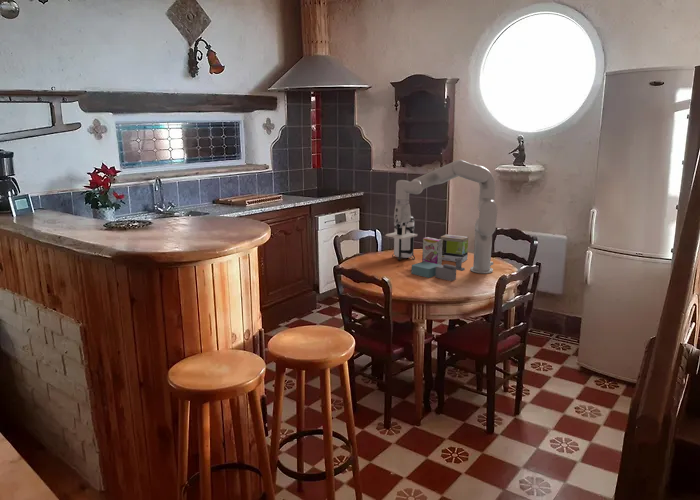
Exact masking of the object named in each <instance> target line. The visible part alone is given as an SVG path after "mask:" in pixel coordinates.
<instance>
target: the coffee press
mask: <svg viewBox="0 0 700 500" xmlns="http://www.w3.org/2000/svg"><path fill="white" fill-rule="evenodd" d="M415 221H416V219H415V218H414V216H413V215H412V214H411V220H410V221H409V223H408V224H407V227H406V232H408V233H413V234H415ZM399 225H400V224H399ZM393 227H394V228H393V229H394V232H397V227H396V225H395V224H393ZM394 232H393V233H394ZM393 242H394V243H393V246H394V247H393V254H392V255H391V256H392V258H395V257H396V258H397V261H398V262H399V261H402V259H407V258H409V259H412V260H415V259H416V257H415V255H414V249H415V248H414V247H415V246H414V244H415V243H414V242H415V237H411V238H407V239H398V238H393Z"/></svg>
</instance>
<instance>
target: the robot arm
mask: <svg viewBox="0 0 700 500" xmlns="http://www.w3.org/2000/svg"><path fill="white" fill-rule="evenodd" d="M458 177H460V178H463V179H465V180H468V181H472V182H475V183H478V184H479V195H478V204H477V209H478V214H479V215H478V218H477V219H476V221H475V223H474V247H473V261H472V262H473V266H471V267H470V268H469V269H470V271H471V272H472V273H476V274H491V273H493V271H494V269H493V268H492V266H494V262H493V261H492V259H491V258H492V247H493V246H492V243H493V234H494V233H495V231H496V228H497V220H498V205H497V202H496V201H495V199H496V198H495V197H496V181H495V177H494V175H493V174H492V172H491V171H490V170H489V169H488V168H486V167H485V166H484V165H483V166H482V165H477V164H473V163H470V162H467V161H465V160H463V159H457V160H454V161H452V162H450V163H448V164H445V165H443V166H441V167H438V168H437V169H434V170H432V171H429V172H428V173H425V174H423V175H420V176H418V177H415V178H414V179H411V181H409V180H405V179H399V180H396V183H395V206H394V214H393V225H396V227H397V234H398V235H402V228H401V227H402V225H404V226H405V234H406V227H407V224H408V223H409V221H410V220H411V215H412V214H411V213H412V211H411V206H410V194H412V195H420V194H421V193H422V192H423V190H425V189H428V188H429V187H432V186H434V185H435V186H436V185H441V184H444V183H446V182H448V181H451V180H454V179H455V178H458ZM399 224H400V225H399Z"/></svg>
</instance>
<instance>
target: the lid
mask: <svg viewBox="0 0 700 500" xmlns="http://www.w3.org/2000/svg"><path fill="white" fill-rule="evenodd" d="M401 228H402V235H398V234H397V232H390V233H386V234H385V237H389V238H393V239H394V238H398V239H407V238H411V237H414V238H415V237H418V233H414V234H413V233H408V232H406V234H405V226H404V225H402V227H401Z"/></svg>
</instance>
